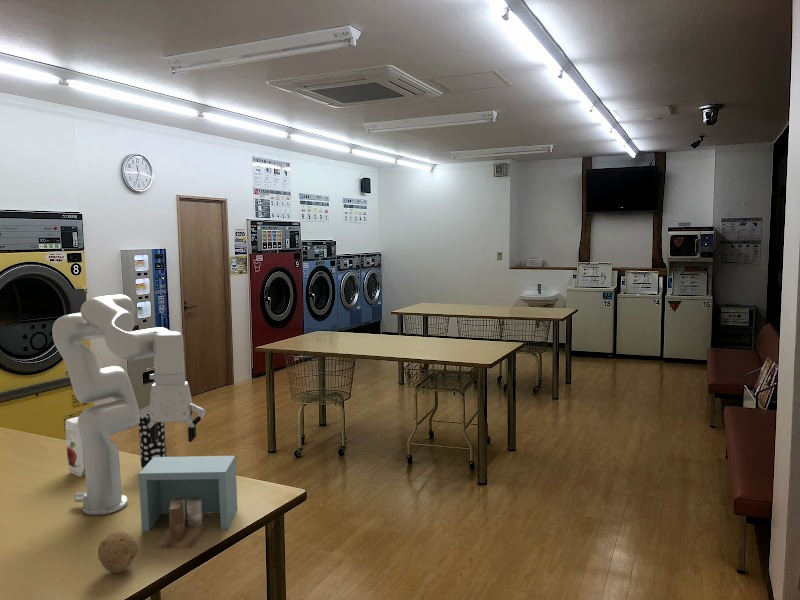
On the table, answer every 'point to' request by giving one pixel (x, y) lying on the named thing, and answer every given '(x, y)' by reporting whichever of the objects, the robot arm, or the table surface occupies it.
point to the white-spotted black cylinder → (146, 445)
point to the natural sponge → (117, 551)
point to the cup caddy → (183, 524)
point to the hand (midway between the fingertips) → (173, 440)
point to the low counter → (188, 486)
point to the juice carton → (74, 447)
